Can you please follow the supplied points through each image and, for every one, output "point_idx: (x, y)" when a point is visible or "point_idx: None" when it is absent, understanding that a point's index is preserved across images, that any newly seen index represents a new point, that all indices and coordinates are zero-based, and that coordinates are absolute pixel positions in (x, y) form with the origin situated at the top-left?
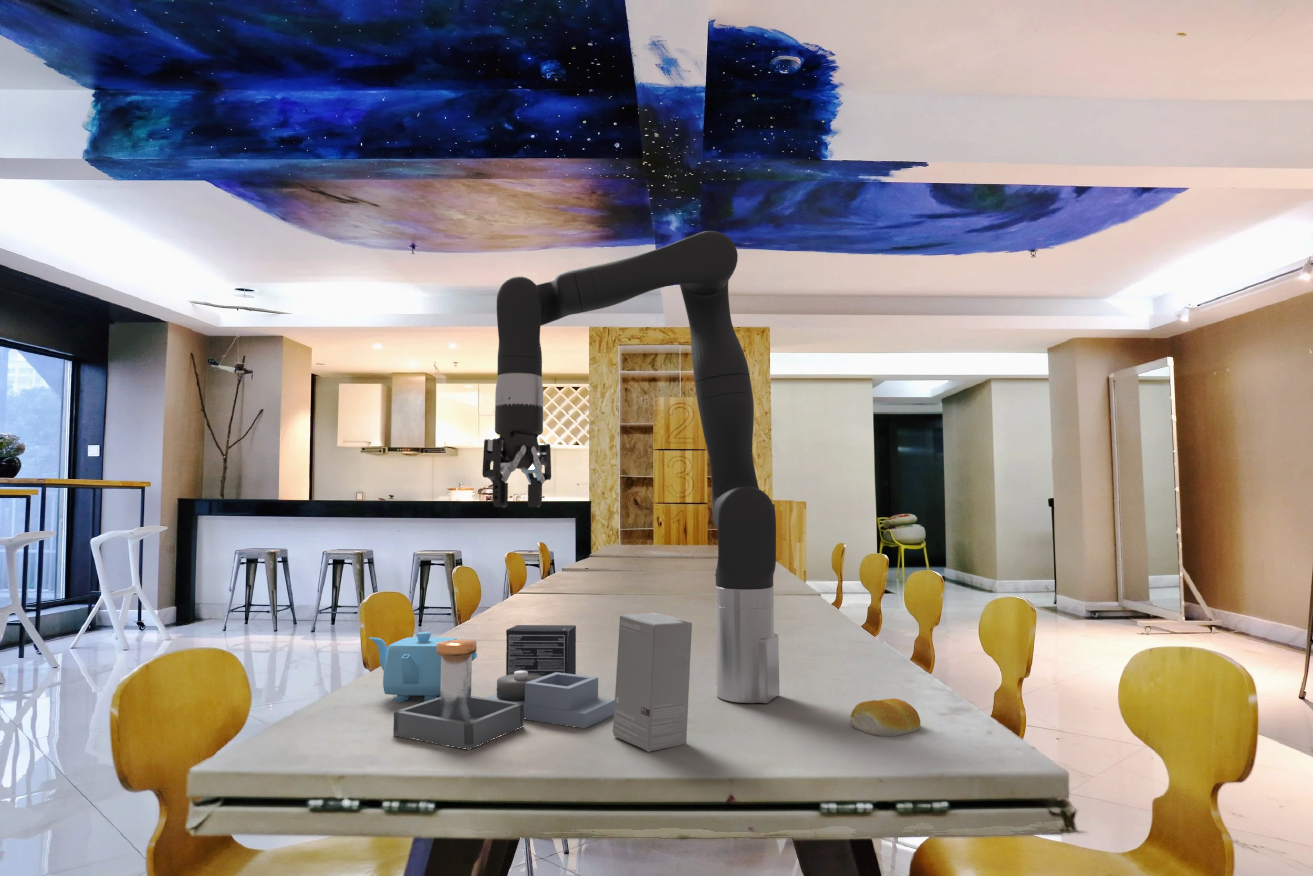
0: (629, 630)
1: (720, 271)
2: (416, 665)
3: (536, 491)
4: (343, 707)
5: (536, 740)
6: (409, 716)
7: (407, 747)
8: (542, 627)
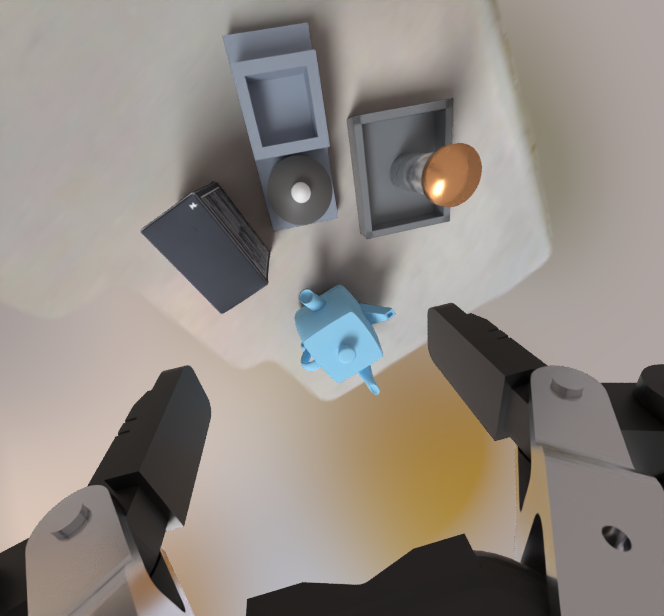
0: None
1: None
2: (369, 311)
3: (167, 437)
4: (398, 334)
5: (374, 57)
6: None
7: None
8: (213, 251)
